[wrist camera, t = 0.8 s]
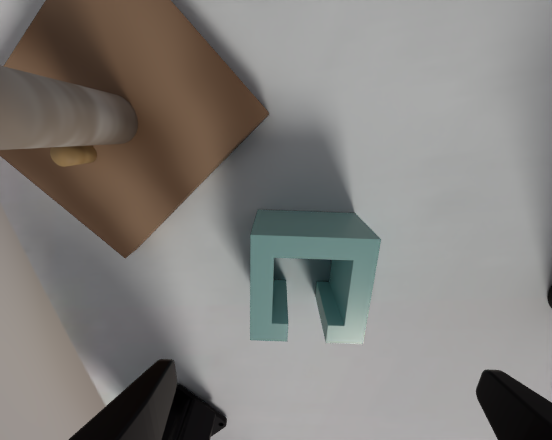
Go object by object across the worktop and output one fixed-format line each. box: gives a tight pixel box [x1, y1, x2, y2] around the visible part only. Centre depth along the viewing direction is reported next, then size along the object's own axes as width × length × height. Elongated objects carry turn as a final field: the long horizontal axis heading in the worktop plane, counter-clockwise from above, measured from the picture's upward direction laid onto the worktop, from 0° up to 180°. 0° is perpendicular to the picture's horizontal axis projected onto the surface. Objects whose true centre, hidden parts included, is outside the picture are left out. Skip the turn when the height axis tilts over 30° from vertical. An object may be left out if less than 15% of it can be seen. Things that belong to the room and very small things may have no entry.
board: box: [0, 0, 269, 258], centre depth 13 cm, size 14×12×8 cm
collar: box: [250, 210, 381, 344], centre depth 17 cm, size 7×7×5 cm
